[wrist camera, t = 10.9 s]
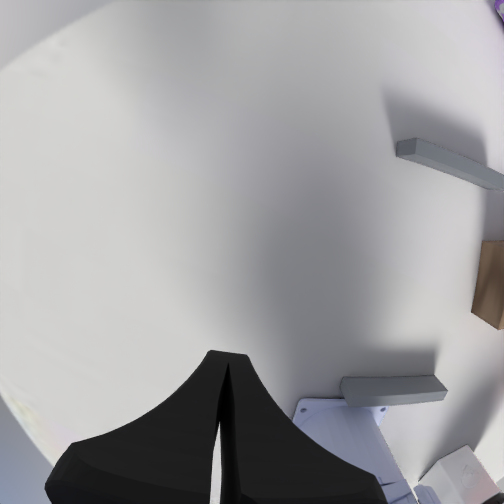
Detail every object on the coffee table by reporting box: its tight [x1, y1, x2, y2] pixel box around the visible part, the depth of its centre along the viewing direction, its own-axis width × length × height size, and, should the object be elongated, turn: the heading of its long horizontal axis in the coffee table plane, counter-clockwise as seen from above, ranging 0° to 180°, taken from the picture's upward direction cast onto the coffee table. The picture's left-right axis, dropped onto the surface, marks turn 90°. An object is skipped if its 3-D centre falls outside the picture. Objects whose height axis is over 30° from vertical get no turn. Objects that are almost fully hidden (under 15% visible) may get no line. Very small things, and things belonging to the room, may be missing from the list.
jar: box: [418, 445, 504, 504], centre depth 20 cm, size 9×8×12 cm
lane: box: [340, 138, 504, 407], centre depth 18 cm, size 18×9×2 cm, turn 171°
